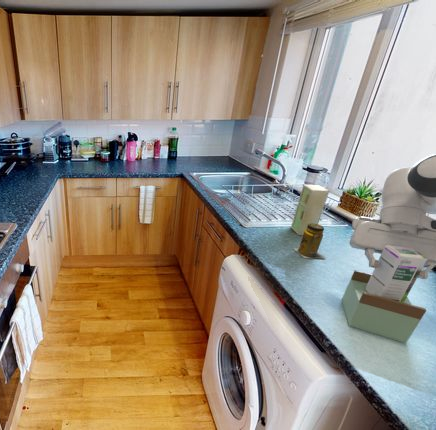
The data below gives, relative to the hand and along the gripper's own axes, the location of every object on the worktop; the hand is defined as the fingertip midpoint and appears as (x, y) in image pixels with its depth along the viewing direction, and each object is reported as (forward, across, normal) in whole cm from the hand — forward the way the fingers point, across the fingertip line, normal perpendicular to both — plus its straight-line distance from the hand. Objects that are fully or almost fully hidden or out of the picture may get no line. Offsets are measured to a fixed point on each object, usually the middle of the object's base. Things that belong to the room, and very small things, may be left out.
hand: (396, 272), depth 73 cm
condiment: (-11, -13, +35) cm, 39 cm away
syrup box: (+6, 0, +6) cm, 9 cm away
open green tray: (+11, 0, +12) cm, 16 cm away
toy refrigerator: (-26, -15, +49) cm, 57 cm away
